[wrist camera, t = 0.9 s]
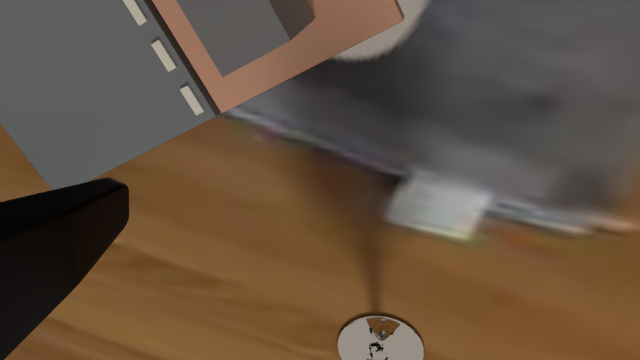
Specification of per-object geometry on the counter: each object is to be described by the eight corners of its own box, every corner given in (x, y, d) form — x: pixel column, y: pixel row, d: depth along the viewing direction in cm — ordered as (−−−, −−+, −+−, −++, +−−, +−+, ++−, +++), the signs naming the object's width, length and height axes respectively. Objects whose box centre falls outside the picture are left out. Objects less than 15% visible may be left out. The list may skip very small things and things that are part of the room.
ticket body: (72, 185, 26) (56, 198, 24) (-41, 37, 23) (-65, 43, 22) (225, 107, 22) (215, 117, 21) (113, -76, 20) (94, -76, 19)
